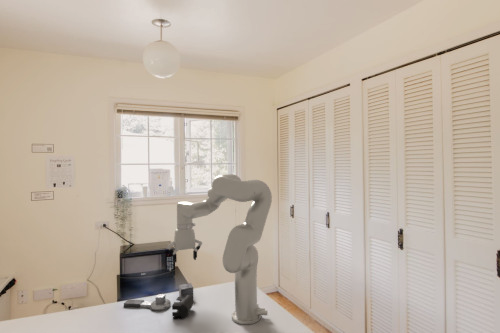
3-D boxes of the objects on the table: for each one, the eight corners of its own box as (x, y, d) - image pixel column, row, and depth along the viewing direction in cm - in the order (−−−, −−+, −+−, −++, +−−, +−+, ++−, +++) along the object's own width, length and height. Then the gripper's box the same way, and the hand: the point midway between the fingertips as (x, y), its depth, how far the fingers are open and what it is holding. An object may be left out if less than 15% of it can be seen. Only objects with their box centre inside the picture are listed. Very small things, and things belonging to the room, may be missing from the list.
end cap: (188, 320, 128) (187, 304, 128) (172, 320, 129) (171, 304, 129) (194, 309, 138) (193, 294, 138) (179, 309, 139) (178, 294, 139)
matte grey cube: (191, 294, 154) (190, 283, 154) (193, 299, 148) (193, 287, 148) (179, 296, 151) (179, 284, 151) (181, 301, 146) (180, 289, 146)
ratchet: (173, 302, 145) (173, 292, 145) (165, 311, 136) (165, 300, 136) (131, 300, 148) (130, 290, 148) (120, 309, 139) (120, 298, 139)
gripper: (200, 223, 156) (200, 256, 156) (166, 226, 150) (166, 260, 150) (203, 226, 149) (203, 260, 149) (167, 229, 143) (168, 265, 143)
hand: (185, 260), depth 150 cm, fingers open, 9 cm apart
